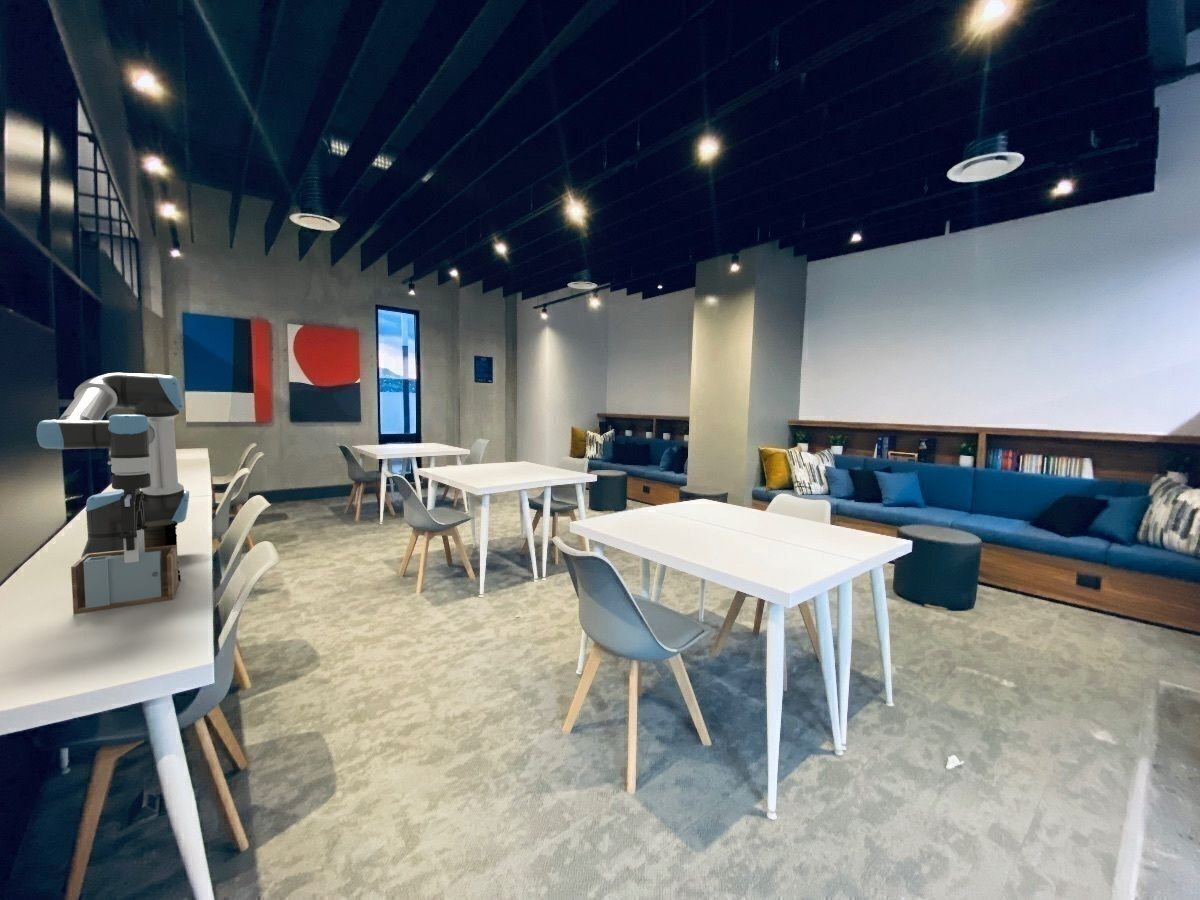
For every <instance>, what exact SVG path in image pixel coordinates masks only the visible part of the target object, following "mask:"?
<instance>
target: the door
mask: <svg viewBox="0 0 1200 900" xmlns="http://www.w3.org/2000/svg"><path fill="white" fill-rule="evenodd" d="M83 564H84V584H85V604H86V608H92V607H98V606H105V605H110V604H113V603H120V602H127V601H134V600H141V599H148V598H155V597H161V596H162V594H163V591H162V565H161V551H154V552H145V553H139V561H138V562H129V563H124V555H116V556H111V555H110V556H100V557H91V558H87V559H86V560H85V561H84V562H83Z"/></svg>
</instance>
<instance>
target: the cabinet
mask: <svg viewBox="0 0 1200 900" xmlns="http://www.w3.org/2000/svg"><path fill="white" fill-rule="evenodd" d="M154 551H161V565H162V591H163V594H162V596H161V597H155V598H148V599H141V600H134V601H127V602H120V603H113V604H110V605H105V606H98V607H92V608H86V604H85V584H84V564H83V562H84V561H85V560H86V559H87V558H91V557H100V556H110V555H111V556H116V555H124V550H121V551H111V552H101V553H91V554H86V555H85V556H83V557H82V558H81V557H80V559H78V561H76V562H75V563H74V564H73V565H72V566H71V567H70V571H71V573H70V574H71V590H72V591H71V592H72V609H73V610H72V612H73V614H74V615H75V614H81V613H89V612H94V611H100V610H110V609H114V608H124V607H129V606H134V605H142V604H149V603H155V602H157V603H158V602H161V601H170V600H173V599H174V597H175V593H176V591H177V589H178V587H179V581H178V570H179V561H178V559H179V558H178V544H177V545H171V546H161V547H151V548H145V552H154Z"/></svg>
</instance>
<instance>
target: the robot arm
mask: <svg viewBox="0 0 1200 900" xmlns="http://www.w3.org/2000/svg"><path fill="white" fill-rule="evenodd" d="M73 397H74V399H73V400H72V402H71V403H70V404H69V406H67V408H66V410H64V412H63V413H62V414H61V416H60V417H59V419H56V418H55V419H45V420H40V421H39V423H37V426H36V439H37V443H38V445H39V446H40V447H41V448H43V449H48V450H49V449H52V450H53V449H56V450H72V449H73V450H77V449H81V450H82V449H110V454H109V455H110V460H107V465H108V466H109V465H110V469H111V473H112V475H111V477H110V478H111V479H110V480H111V488H112V489H113V490H114V491H113V490H112V491H106V492H102V493H97V494H93V495H91V496H89V497H88V498H87V500H86V507H85V512H86V527H87V540H86V543H85V546H84V549H83V551H82V553H81V556H80V559H81V558H82V557H83V556H85V555H86V554H91V553H101V552H111V551H121V550H124V563H129V562H138V561H139V553H145V545H144V529H147V525H145V523H149V522H156V521H177V523H178V524H179V523H183V522H185V521H186V519H187V515H188V507H189V500H190V491H189V490H185V488H184V487H185V486H184V485H183V484H182V483H180V482H179V480H178V464H177V463H178V461H177V450H176V449H177V448H176V431H175V419H176V417H178V416H179V415H180V411H181V410H184V409H185V400H184V393H183V389H182V386H181V383H180V380H179V379H178V378H177V377H176V376H173V375H170V374H169V375H167V374H160V373H153V374H152V373H135V372H134V373H132V372H130V373H129V372H110V373H104V374H101V375H97V376H94V377H92V378H89V379H87V380H85V381H83V382H82V383H80V384H79V385H78V386H77V388H75V391H74V394H73ZM112 409H133V414H111V415H110V416H109V418H108V420H103V418H104V416H105V415H106V413H107V411H110V410H112ZM142 529H143V530H142Z"/></svg>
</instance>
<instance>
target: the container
mask: <svg viewBox="0 0 1200 900" xmlns="http://www.w3.org/2000/svg"><path fill="white" fill-rule="evenodd" d="M178 524H179V523H177V521H156V522H149V523H145V525H147V529H144V545H145V548H151V547H161V546H171V545H177V546H178V541H177V540H178V535H177V528H178V527H176V526H178ZM141 530H143V529H141ZM180 573H181V571H180V569H178V582H180V581H181V577H182V576H181V575H180Z"/></svg>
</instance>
